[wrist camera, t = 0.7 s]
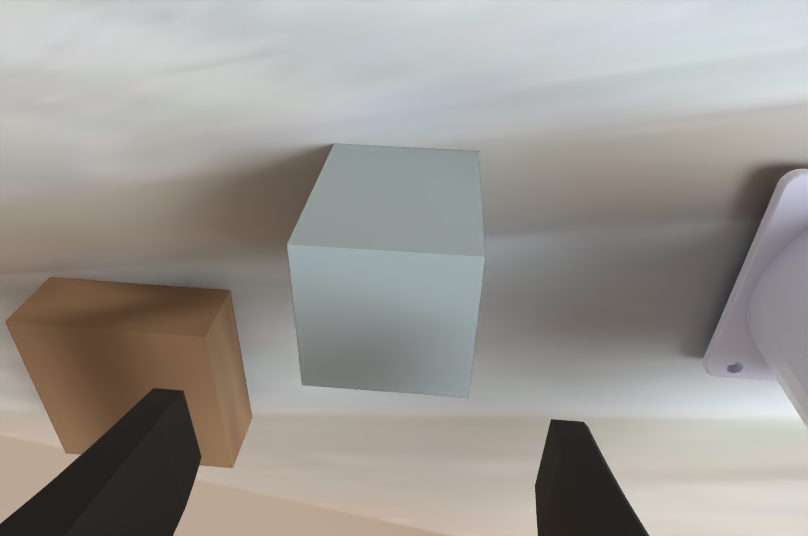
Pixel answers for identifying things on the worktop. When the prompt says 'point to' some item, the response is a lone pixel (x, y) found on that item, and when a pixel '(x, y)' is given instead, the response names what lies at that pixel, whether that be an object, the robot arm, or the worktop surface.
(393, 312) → the slate block
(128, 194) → the worktop surface
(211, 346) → the walnut plinth
